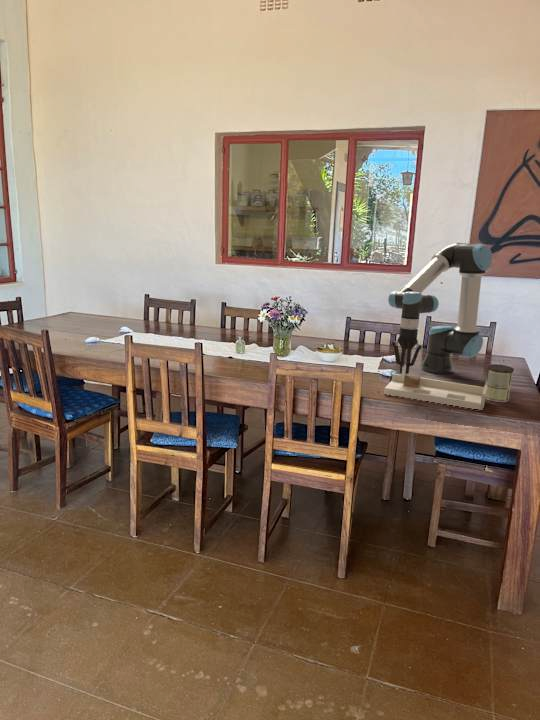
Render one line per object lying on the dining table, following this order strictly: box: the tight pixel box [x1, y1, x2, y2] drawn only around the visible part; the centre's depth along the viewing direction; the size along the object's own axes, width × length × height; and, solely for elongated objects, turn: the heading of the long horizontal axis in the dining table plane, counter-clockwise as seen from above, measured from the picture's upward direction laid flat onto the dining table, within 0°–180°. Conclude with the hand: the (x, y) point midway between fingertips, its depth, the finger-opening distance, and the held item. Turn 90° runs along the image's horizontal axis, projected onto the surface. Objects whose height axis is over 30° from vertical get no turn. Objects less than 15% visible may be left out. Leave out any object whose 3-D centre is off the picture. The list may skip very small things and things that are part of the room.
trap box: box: [383, 373, 488, 411], centre depth 224 cm, size 15×40×7 cm, turn 65°
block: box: [403, 374, 421, 388], centre depth 230 cm, size 5×6×4 cm
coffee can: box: [485, 364, 515, 403], centre depth 225 cm, size 10×10×14 cm
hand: (403, 380), depth 232 cm, fingers closed
